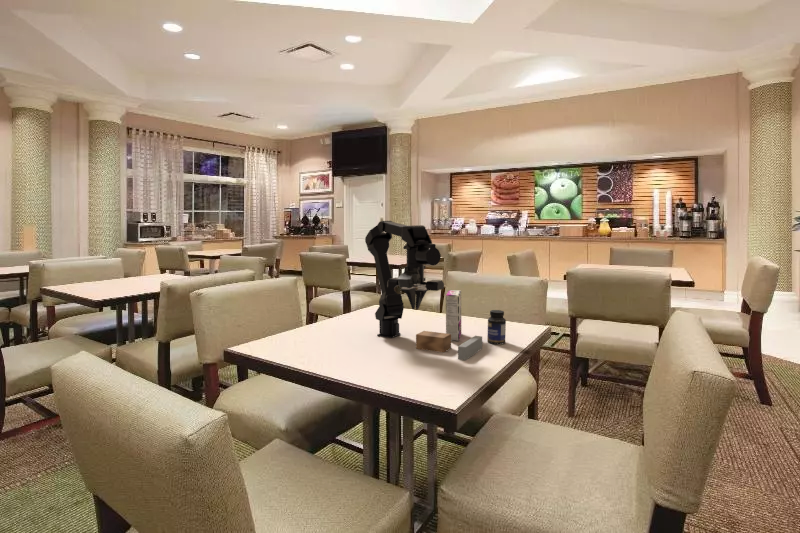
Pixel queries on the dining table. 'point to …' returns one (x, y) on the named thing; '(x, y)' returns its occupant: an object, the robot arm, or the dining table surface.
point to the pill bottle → (496, 327)
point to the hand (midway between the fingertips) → (415, 309)
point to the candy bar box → (453, 314)
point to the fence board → (469, 347)
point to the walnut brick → (433, 341)
